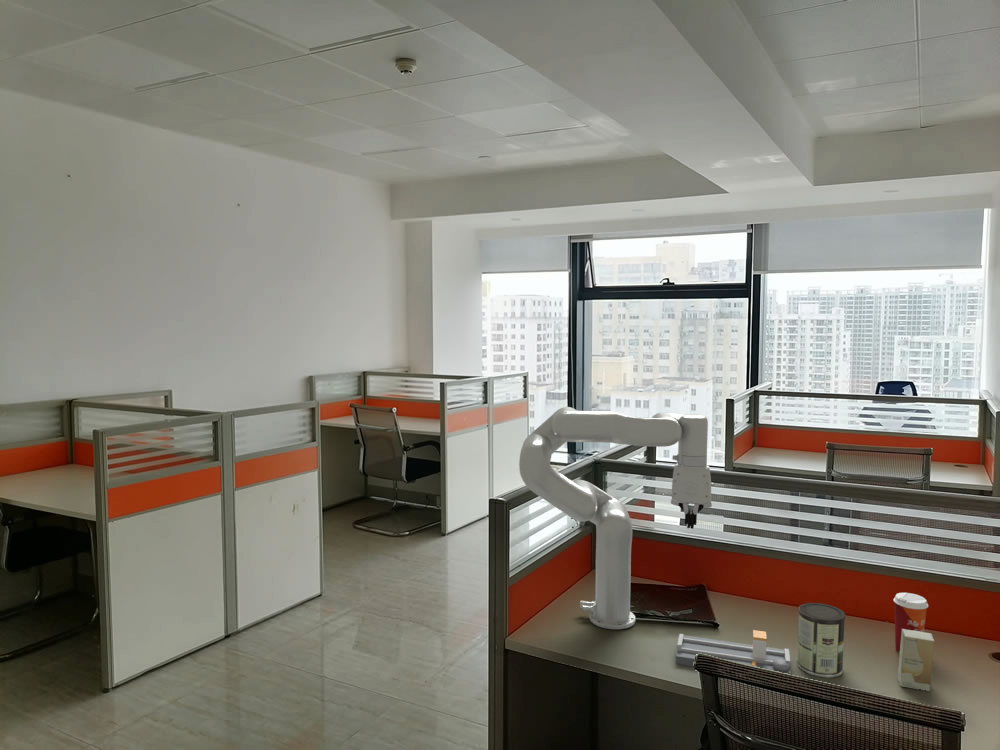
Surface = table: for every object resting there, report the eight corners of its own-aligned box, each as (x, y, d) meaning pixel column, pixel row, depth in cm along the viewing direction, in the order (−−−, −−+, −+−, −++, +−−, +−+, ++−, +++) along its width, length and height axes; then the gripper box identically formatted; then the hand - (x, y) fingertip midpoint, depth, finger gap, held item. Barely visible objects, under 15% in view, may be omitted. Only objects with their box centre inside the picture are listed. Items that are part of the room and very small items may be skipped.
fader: (752, 659, 177) (753, 637, 176) (752, 651, 181) (753, 629, 180) (765, 661, 176) (766, 638, 176) (765, 653, 180) (766, 631, 179)
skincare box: (899, 687, 168) (902, 635, 167) (897, 677, 172) (899, 627, 171) (931, 692, 166) (935, 640, 165) (928, 683, 170) (931, 632, 169)
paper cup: (912, 661, 180) (916, 606, 179) (884, 648, 187) (886, 595, 186) (932, 654, 184) (935, 600, 183) (903, 641, 191) (906, 589, 189)
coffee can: (819, 654, 184) (822, 599, 183) (852, 673, 175) (855, 616, 173) (786, 661, 181) (789, 605, 179) (818, 681, 171) (821, 623, 170)
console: (675, 663, 179) (676, 649, 179) (680, 642, 190) (680, 628, 190) (790, 681, 171) (790, 666, 170) (787, 657, 182) (788, 643, 182)
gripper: (662, 461, 196) (660, 528, 198) (720, 465, 191) (718, 534, 193) (665, 455, 203) (664, 520, 205) (721, 459, 198) (719, 525, 200)
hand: (690, 526), depth 199 cm, fingers closed
